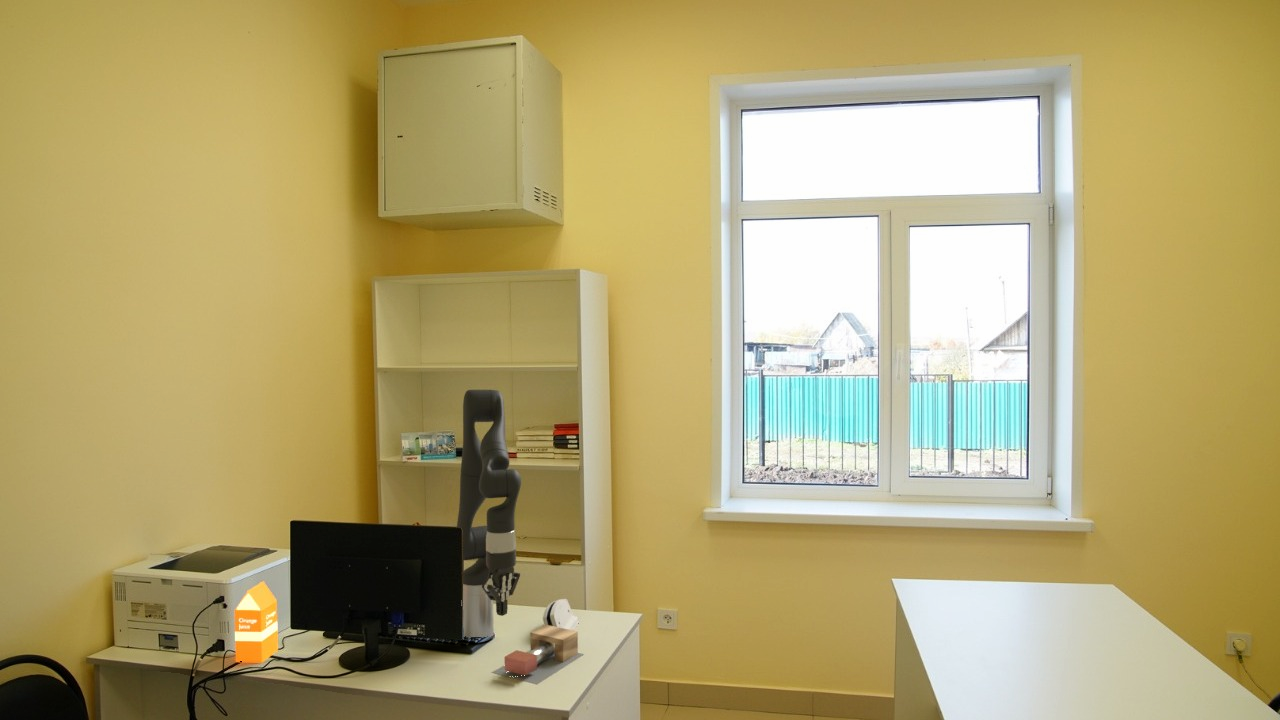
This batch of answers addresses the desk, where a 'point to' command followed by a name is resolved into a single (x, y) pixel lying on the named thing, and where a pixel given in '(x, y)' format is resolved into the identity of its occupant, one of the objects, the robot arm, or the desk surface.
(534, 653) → the pin
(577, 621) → the white rounded piece
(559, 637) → the wooden block
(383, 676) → the desk surface
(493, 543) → the robot arm
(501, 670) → the mat
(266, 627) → the orange juice
